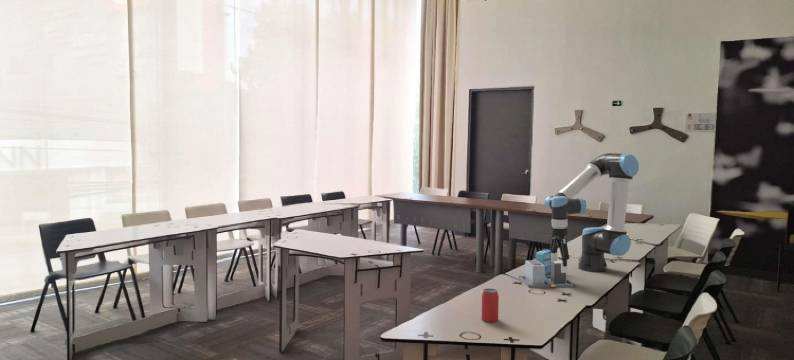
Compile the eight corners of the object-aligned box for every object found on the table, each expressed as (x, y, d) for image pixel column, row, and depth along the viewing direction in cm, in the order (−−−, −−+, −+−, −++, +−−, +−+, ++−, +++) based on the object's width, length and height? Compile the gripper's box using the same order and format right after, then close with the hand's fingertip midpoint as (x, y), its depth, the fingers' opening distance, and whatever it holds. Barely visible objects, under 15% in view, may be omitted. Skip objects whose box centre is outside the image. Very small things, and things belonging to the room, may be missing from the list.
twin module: (536, 279, 270) (537, 259, 270) (544, 286, 258) (544, 265, 258) (525, 279, 270) (525, 259, 269) (532, 286, 258) (532, 265, 257)
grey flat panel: (562, 278, 274) (562, 275, 274) (576, 288, 255) (576, 285, 255) (518, 278, 272) (518, 276, 272) (529, 289, 254) (530, 286, 254)
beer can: (479, 317, 213) (480, 288, 212) (495, 316, 214) (496, 287, 213) (483, 322, 207) (484, 292, 206) (500, 322, 207) (500, 292, 206)
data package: (542, 275, 279) (543, 253, 278) (535, 274, 282) (535, 252, 281) (553, 271, 287) (554, 250, 287) (546, 270, 291) (546, 248, 290)
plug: (562, 281, 268) (562, 260, 267) (565, 283, 263) (566, 263, 262) (550, 281, 267) (550, 260, 266) (553, 283, 262) (554, 263, 261)
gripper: (543, 223, 275) (543, 263, 277) (561, 232, 250) (560, 275, 252) (557, 222, 275) (557, 262, 277) (576, 231, 251) (576, 275, 252)
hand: (559, 269), depth 265 cm, fingers open, 13 cm apart
